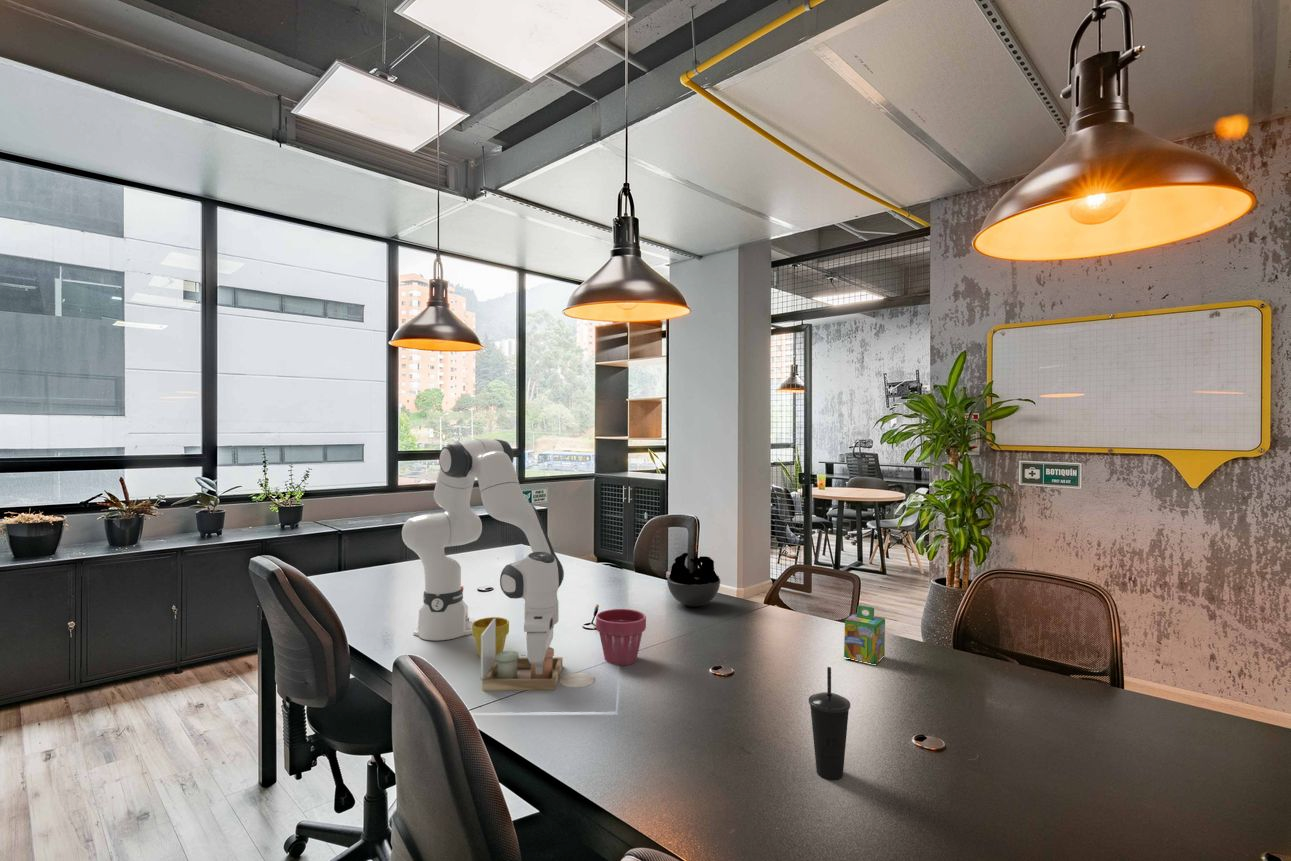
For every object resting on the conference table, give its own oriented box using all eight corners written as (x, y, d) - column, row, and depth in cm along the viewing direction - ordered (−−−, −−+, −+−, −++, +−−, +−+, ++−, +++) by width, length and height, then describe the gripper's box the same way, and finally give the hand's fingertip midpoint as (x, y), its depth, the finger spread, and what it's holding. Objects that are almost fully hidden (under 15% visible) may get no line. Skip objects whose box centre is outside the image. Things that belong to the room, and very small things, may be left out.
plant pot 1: (499, 663, 175) (499, 628, 175) (465, 660, 177) (465, 626, 177) (514, 651, 185) (514, 618, 185) (482, 648, 187) (482, 616, 187)
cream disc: (561, 675, 166) (561, 672, 166) (595, 675, 166) (595, 672, 166) (557, 689, 157) (557, 686, 157) (593, 689, 157) (593, 686, 157)
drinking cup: (803, 763, 121) (802, 660, 122) (841, 761, 122) (840, 659, 122) (817, 785, 114) (816, 676, 114) (857, 783, 114) (857, 674, 115)
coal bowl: (723, 613, 224) (723, 561, 224) (667, 613, 224) (667, 560, 224) (717, 598, 244) (717, 550, 244) (666, 598, 244) (666, 550, 244)
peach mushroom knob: (531, 672, 166) (531, 646, 166) (555, 672, 166) (555, 646, 166) (527, 682, 160) (527, 655, 160) (552, 682, 160) (552, 654, 160)
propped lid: (493, 660, 170) (493, 618, 170) (496, 660, 170) (496, 618, 170) (480, 680, 156) (480, 635, 156) (484, 680, 156) (484, 635, 156)
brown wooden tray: (496, 668, 171) (496, 657, 171) (562, 668, 171) (562, 657, 171) (482, 692, 155) (482, 680, 155) (554, 692, 155) (554, 680, 155)
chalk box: (843, 659, 177) (843, 608, 177) (853, 650, 185) (853, 601, 185) (876, 667, 172) (876, 613, 172) (885, 657, 179) (885, 606, 179)
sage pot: (498, 673, 166) (498, 650, 166) (520, 673, 166) (520, 650, 166) (493, 682, 160) (493, 658, 160) (516, 682, 160) (516, 658, 160)
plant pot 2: (653, 655, 181) (653, 611, 181) (632, 672, 168) (632, 625, 168) (610, 648, 187) (610, 606, 187) (586, 664, 174) (586, 618, 174)
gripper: (535, 604, 173) (535, 654, 173) (522, 627, 153) (522, 683, 153) (558, 604, 173) (558, 654, 173) (548, 627, 153) (548, 683, 153)
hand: (541, 668), depth 163 cm, fingers closed on peach mushroom knob, 6 cm apart
